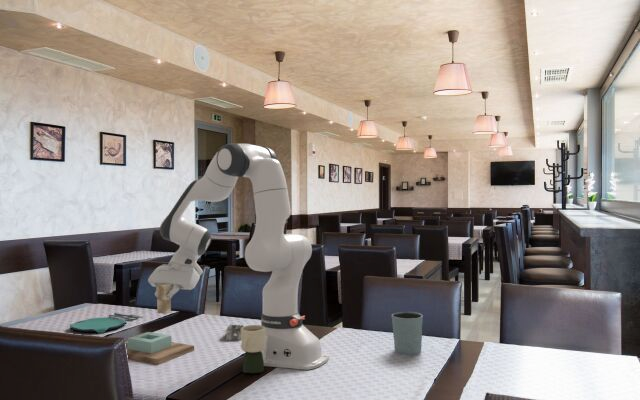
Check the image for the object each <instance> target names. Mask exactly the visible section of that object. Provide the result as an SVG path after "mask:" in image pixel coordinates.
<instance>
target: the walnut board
mask: <svg viewBox="0 0 640 400" xmlns="http://www.w3.org/2000/svg"><path fill="white" fill-rule="evenodd" d="M124 343H125V344H126V349H127V355H128V358H127V359H130V360H133V361H134V360H135V361H139V362H145V363H148V364H149V363H150V364H155V365H161V364H163V363H166V362H168V361H171V360H173V359H176V358H179V357H181V356H183V355H186V354H188V353H190V352H193V351H195V345H191V344H186V343H180V342H173V341H171V346H170V347H167V348H164V349H162V350H159V351H156V352H154V353H147V352H141V351H136V350H130V349H128V341H124Z"/></svg>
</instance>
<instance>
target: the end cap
mask: <svg viewBox="0 0 640 400" xmlns="http://www.w3.org/2000/svg"><path fill="white" fill-rule="evenodd" d="M126 342H128V349H130V350H136V351H141V352H147V353H154V352H156V351H159V350H162V349H164V348H167V347H170V346H171V342H172V334H165V333H158V332H151V331H146V332H143V333H140V334H136V335H134V336H131V337H128V338H127V340H126Z"/></svg>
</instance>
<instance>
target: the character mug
mask: <svg viewBox="0 0 640 400" xmlns="http://www.w3.org/2000/svg"><path fill="white" fill-rule="evenodd" d="M243 326H244V327H242V328H241V340H240V341H241V344H240V348H241V349H242V351H243V352H244V356H243V361H242V362H243V363H242V372H243V373H247V374H251V375H252V374H258V373H263V372H264V371H265V366H264V361H263V355H262V352H261V351H263V350H264V349H265V327H264V326H262V325H261V324H250V325H243Z"/></svg>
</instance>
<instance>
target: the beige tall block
mask: <svg viewBox="0 0 640 400" xmlns="http://www.w3.org/2000/svg"><path fill="white" fill-rule="evenodd" d="M156 288H157V297H156V302H157V304H156V307H157V309H156V311H157V314H163V315H166V314H167V315H168V314H170V313H172V304H171V303H172V300H171V299H172V298H167V297H166V294H167V292H168V291H171V290H172V288H171V287H170V284H159V285H157V287H156Z"/></svg>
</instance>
